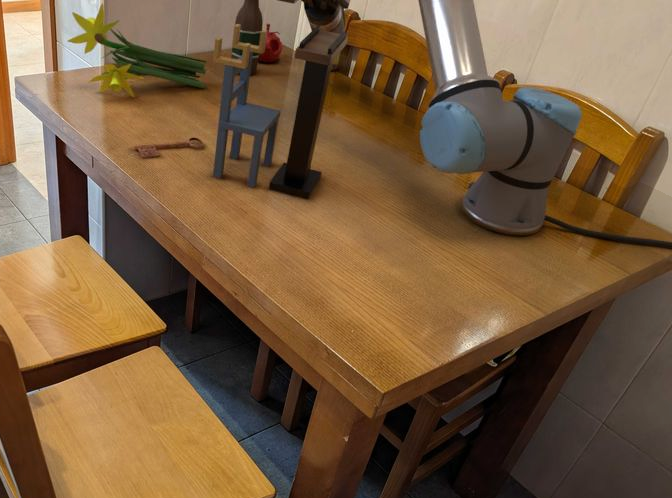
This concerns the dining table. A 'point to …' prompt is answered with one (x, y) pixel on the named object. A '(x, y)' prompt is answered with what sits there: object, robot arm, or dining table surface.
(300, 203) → the dining table surface
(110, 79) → the daffodil flowers
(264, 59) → the pomegranate
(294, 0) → the hanger bar
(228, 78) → the chair
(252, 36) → the beer bottle
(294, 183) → the stand
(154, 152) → the key
